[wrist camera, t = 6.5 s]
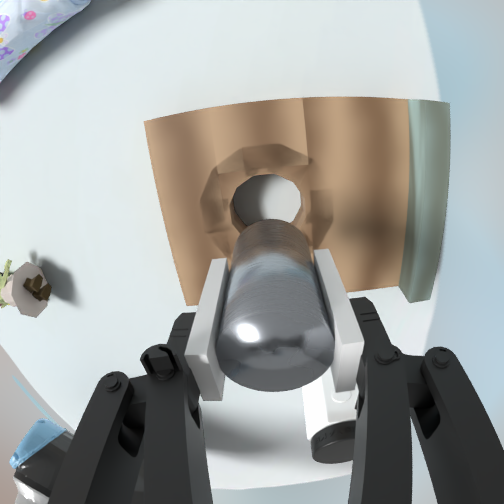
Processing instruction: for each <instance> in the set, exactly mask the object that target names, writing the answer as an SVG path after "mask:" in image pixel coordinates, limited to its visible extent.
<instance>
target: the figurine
mask: <svg viewBox="0 0 504 504" xmlns="http://www.w3.org/2000/svg"><path fill="white" fill-rule="evenodd" d="M11 262H12V261H10V260H9V259H8V260H7V261H6V263H5V267H4V268H5V272H4V274H2V273H1V272H0V306H1V308H3V307H5V306H6V305H11V306H14V307H15V306H17V307H18V309H19V311H20V313H21V314H23V315H27V316H31V317H35V318H36V317H37V316H38V315H39V314H40V313H41V312H42V311H43V310H44V309H45V308H46V307H47V302H48V298H49V296H50V293H51V288H52V287H51V286H50V285H49V284H48V283H47V281H46V279H45V276H44V274H43V272H42V270H41V268H40V267H38V266H35V265H33V264H31V263H29V262H26V263H25V264H24V265H22V266H21V267H20V268H19V269H17V270H16V271H15V272H14V275H13V274H11V275H9V276H8V272H9V268H10V265H11Z"/></svg>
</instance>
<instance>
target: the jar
mask: <svg viewBox="0 0 504 504" xmlns="http://www.w3.org/2000/svg"><path fill="white" fill-rule="evenodd" d="M302 392H303V402H304V411H305V422H306V432H307V439H308V440H309V441H311V449H312V457H313V459H314V460H315V461H317V462H320V463H326V464H334V463H342V462H347V461H351V460H353V456H354V444H355V430H356V412H357V409H355V405H356V401H357V397H358V393H359V390H358V386H357V382H356V386H355V390H352V391H345V392H339V393H335V387H334V382H333V377H332V372H331V367H329V368H328V370H327V371H326V372H325V373H324V374H323V375H322V376H320V377H319V378H318V379H316V380H315V381H313V382H311V383H309V384H307V385H305V386H303V387H302Z"/></svg>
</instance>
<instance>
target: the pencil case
mask: <svg viewBox="0 0 504 504" xmlns="http://www.w3.org/2000/svg"><path fill="white" fill-rule="evenodd" d="M90 2H91V0H0V82H1V81H2V80H3V79H4V78H5V76H6V75H7V74H8V73H9V72H10V71H11V70H12V68H13V67H14V66H15V65H16V64H17V63H18V62H19V61H20V60H21V59H22V58H23V57H24V56H25V55H26V54H27V53H28V52H29V51H30V50H31V49H32V48H33V47H34V46H36V45H37V44H38V43H39V42H40V41H42V40H43V39H44V38H45V37H46V36H47V35H48V34H50V33H51V32H52V31H53V30H54V29H55V28H57V27H58V26H60V25H61V24H62V23H64V22H65V21H67V20H68V19H69V18H71V17H72V16H74V15H75V14H77V13H78V12H80V11H82V10H83V9H84V8H85V7H86V6H88V5H89V3H90Z"/></svg>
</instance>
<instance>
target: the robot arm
mask: <svg viewBox="0 0 504 504" xmlns="http://www.w3.org/2000/svg"><path fill="white" fill-rule="evenodd" d="M314 267H315V271H316V274H317V278H318V281H319V285H320V288H321V292H322V296H323V299H324V303H325V307H326V310H327V314H328V318H329V322H330V326H331V330H332V334H333V337H334V342H335V349H334V359H333V362H332V364H331V366H330V367H331V372H332V377H333V382H334V387H335V393H339V392H345V391H352V390H355V386H356V382H357V386H358V390H359V393H358V397H357V401H356V405H355V409H357V412H356V430H355V444H354V456H353V466H352V476H351V484H350V492H349V499H348V504H412V437H411V421H410V416H411V419H412V422H413V424H414V427H415V430H416V433H417V436H418V439H419V442H420V445H421V448H422V451H423V454H424V457H425V461H426V464H427V467H428V470H429V474H430V477H431V481H432V484H433V488H434V492H435V495H436V499H437V503H438V504H504V450H503V447H502V445H501V443H500V440H499V438H498V436H497V434H496V432H495V429H494V427H493V425H492V423H491V421H490V419H489V416H488V414H487V413H486V411H485V408H484V406H483V404H482V402H481V400H480V399H479V397H478V395H477V393H476V391H475V389H474V387H473V385H472V383H471V382H470V380H469V378H468V376H467V374H466V373H465V371H464V369H463V367H462V366H461V364H460V362H459V360H458V359H457V357H456V355H455V354H454V353H453V352H452V351H451V350H449V349H447V348H444V347H433V348H431V349H429V350H428V351H427V352H426V354H425V356H412V355H406V354H403V353H402V352H401V350H400V349H398V348H397V347H396V346H394V345H392V344H391V342H390V340H389V337H388V335H387V333H386V331H385V328H384V326H383V324H382V322H381V320H380V317H379V315H378V313H377V311H376V309H375V307H374V305H373V303H372V302H371V301H369V300H368V299H367V298H366V297H360V298H352V299H349V298H348V296H347V293H346V290H345V288H344V285H343V283H342V280H341V278H340V275H339V273H338V270H337V268H336V266H335V263H334V261H333V258H332V256H331V253H330V251H329V249H319V250H314ZM228 278H229V267H228V262H227V258H220V259H212V261H211V265H210V268H209V271H208V274H207V278H206V281H205V284H204V288H203V291H202V294H201V298H200V301H199V305H198V308H197V312H193V313H182V314H181V315H180V316H179V317H178V318H177V319H176V320H175V322H174V325H173V328H172V331H171V333H170V337H169V339H168V342H167V344H158V345H154V346H151V347H150V348H148V349H146V350H145V351H144V353H143V354H142V355H141V358H140V361H141V363H142V365H143V367H144V368H145V370H146V372H147V375H144V376H139V377H135V378H130V379H129V378H128V377H127V376H126V375H125V374H124V373H122V372H119V371H116V372H110V373H108V374H106V375H105V376H103V377H102V378H101V380H100V381H99V382H98V384H97V386H96V389H95V391H94V393H93V395H92V397H91V399H90V401H89V403H88V405H87V408H86V410H85V412H84V414H83V416H82V418H81V421H80V423H79V425H78V427H77V430H76V432H75V434H74V435H73V434H72V433H70V432H68V431H67V429H66V428H62V427H60V426H58V425H57V424H55V423H53V422H52V421H50V420H48V419H45V418H44V419H43V418H42V419H39V420H37V421H36V422H35V424H34V425H33V426H32V427H31V429H30V430H29V431H28V433H27V434H26V435H25V437H24V438H23V440H22V441H21V443H20V444H19V446H18V447H17V449H16V451H15V453H14V454H13V456H12V457H11V459H10V464H11V466H12V467H13V468H14V469H16V472H15V475H14V477H13V479H14V481H15V484H16V486H17V488H18V495H17V498H16V501H15V503H14V504H213V500H212V494H211V487H210V480H209V473H208V466H207V458H206V450H205V442H204V433H203V424H202V415H201V408H200V406H199V403H198V401H199V396H200V395H201V397H202V399H203V401H222V397H223V389H224V381H225V374H224V373H223V372H222V370H221V369H220V366H219V363H218V360H217V356H216V352H215V351H216V345H217V339H218V333H219V328H220V322H221V316H222V311H223V305H224V300H225V294H226V289H227V283H228Z"/></svg>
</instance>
